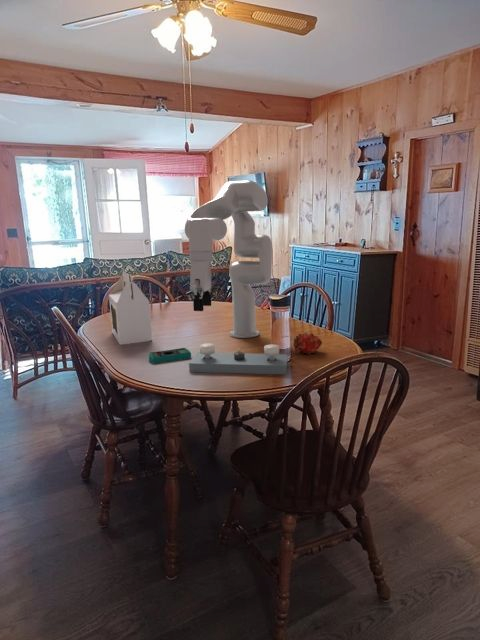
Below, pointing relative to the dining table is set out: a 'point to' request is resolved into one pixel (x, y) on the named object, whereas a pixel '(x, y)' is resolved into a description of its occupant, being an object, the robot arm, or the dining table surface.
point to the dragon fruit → (307, 343)
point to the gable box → (129, 312)
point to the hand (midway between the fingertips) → (202, 308)
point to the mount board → (239, 364)
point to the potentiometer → (239, 355)
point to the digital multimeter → (169, 355)
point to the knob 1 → (207, 350)
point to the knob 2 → (271, 351)
